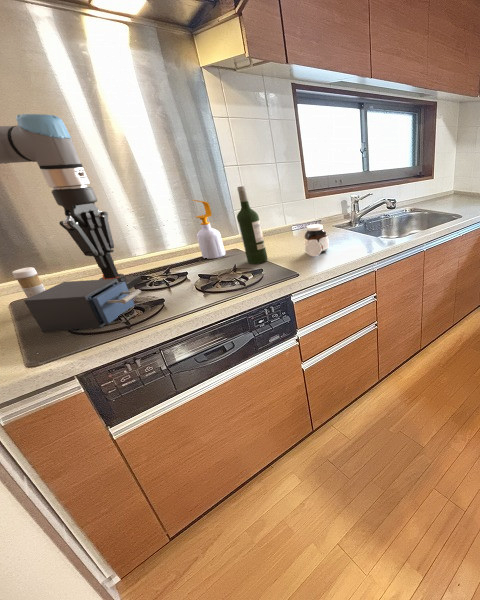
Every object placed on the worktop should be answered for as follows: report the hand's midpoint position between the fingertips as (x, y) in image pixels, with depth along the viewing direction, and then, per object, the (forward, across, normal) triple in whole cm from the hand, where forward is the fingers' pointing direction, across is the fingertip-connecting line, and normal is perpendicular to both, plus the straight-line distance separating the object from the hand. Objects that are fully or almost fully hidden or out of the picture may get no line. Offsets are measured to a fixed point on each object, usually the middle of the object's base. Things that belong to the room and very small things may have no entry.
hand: (112, 277), depth 89 cm
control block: (+12, +24, +19) cm, 33 cm away
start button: (+9, +24, +19) cm, 32 cm away
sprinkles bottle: (+12, +8, +29) cm, 32 cm away
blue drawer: (+11, 0, +6) cm, 13 cm away
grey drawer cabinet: (+12, 0, +11) cm, 17 cm away
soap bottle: (+13, +56, -2) cm, 57 cm away
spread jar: (+13, +52, -48) cm, 72 cm away
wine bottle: (+13, +45, -24) cm, 52 cm away
